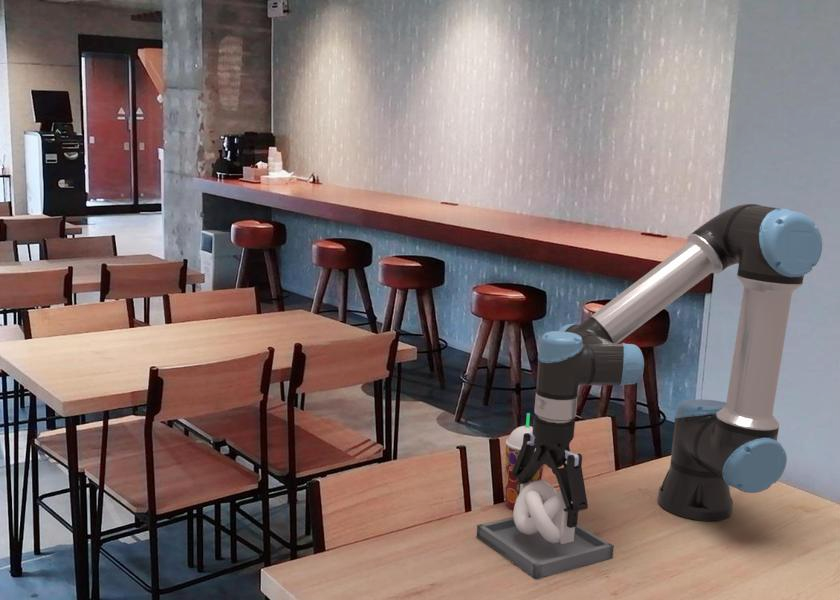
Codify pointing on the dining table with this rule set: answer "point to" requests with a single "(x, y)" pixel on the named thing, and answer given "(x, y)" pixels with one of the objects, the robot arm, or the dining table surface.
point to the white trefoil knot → (539, 511)
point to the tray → (543, 548)
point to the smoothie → (512, 453)
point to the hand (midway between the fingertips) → (544, 528)
